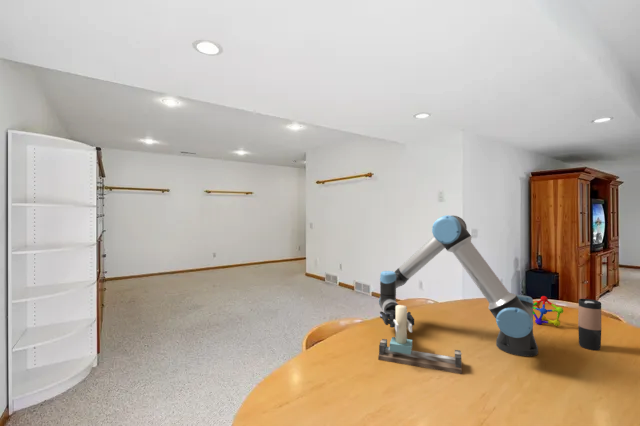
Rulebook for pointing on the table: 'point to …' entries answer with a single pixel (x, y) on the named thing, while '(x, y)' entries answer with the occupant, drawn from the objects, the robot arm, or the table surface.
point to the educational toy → (544, 311)
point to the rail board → (422, 359)
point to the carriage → (401, 333)
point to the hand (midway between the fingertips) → (404, 328)
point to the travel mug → (589, 324)
